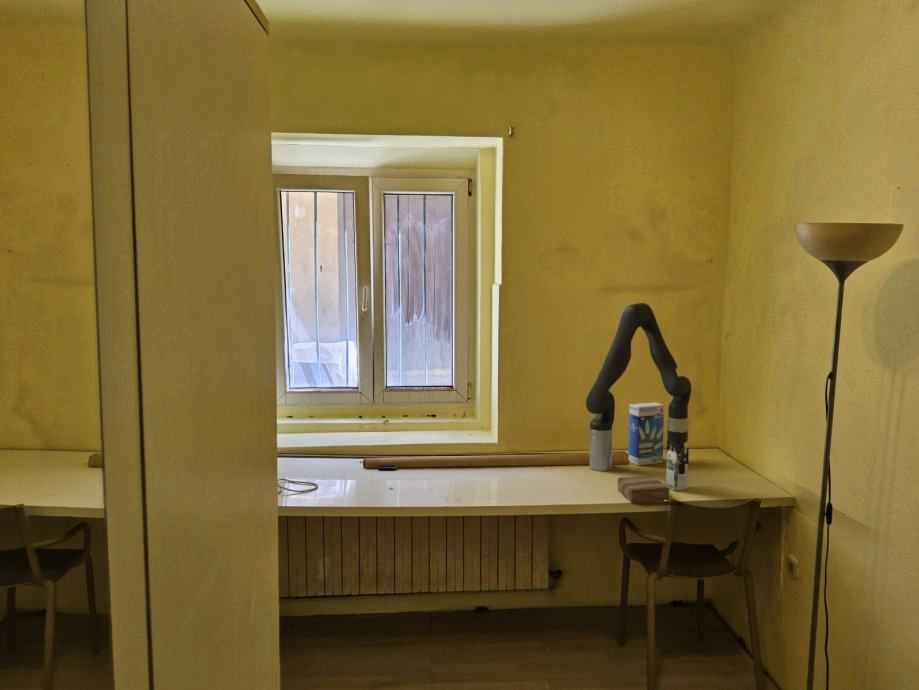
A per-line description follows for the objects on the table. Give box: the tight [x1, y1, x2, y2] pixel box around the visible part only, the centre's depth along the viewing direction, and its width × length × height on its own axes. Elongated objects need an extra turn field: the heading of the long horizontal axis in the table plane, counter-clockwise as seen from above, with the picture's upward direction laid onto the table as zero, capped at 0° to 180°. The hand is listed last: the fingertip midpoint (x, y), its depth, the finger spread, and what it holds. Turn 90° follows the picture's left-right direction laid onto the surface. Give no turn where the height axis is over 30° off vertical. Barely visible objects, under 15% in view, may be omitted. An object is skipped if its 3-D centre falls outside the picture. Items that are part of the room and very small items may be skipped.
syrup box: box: [665, 449, 689, 492], centre depth 248 cm, size 6×6×14 cm
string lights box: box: [628, 401, 665, 466], centre depth 283 cm, size 13×8×26 cm, turn 109°
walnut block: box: [617, 475, 670, 504], centre depth 241 cm, size 14×14×5 cm
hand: (676, 470), depth 248 cm, fingers open, 7 cm apart
